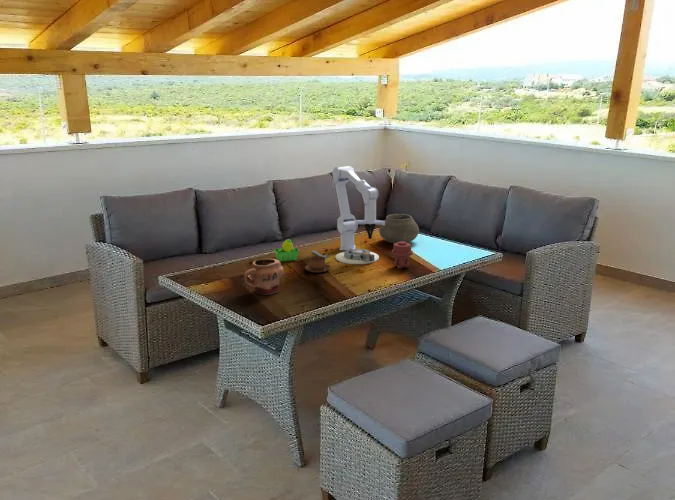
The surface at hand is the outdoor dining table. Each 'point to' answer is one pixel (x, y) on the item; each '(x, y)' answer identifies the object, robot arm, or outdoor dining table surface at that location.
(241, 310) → the outdoor dining table surface
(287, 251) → the fruit basket
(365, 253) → the grey block crown
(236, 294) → the outdoor dining table surface
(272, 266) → the decorative planter
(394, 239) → the clay pot
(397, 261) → the mechanical component
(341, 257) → the white round disc
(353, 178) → the robot arm
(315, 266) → the cup and saucer
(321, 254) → the pin spanner
